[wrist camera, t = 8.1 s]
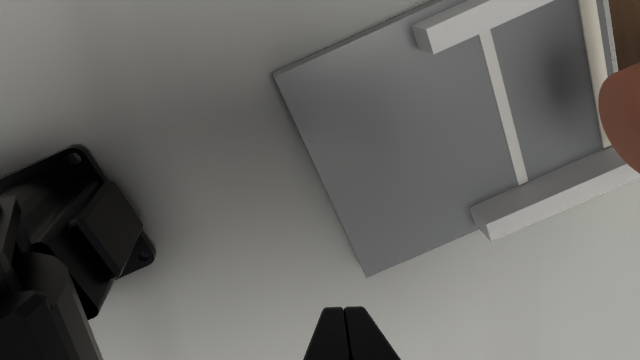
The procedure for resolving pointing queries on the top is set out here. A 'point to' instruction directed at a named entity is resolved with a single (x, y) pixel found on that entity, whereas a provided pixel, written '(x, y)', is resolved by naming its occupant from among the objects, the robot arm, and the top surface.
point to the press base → (457, 122)
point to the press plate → (624, 84)
